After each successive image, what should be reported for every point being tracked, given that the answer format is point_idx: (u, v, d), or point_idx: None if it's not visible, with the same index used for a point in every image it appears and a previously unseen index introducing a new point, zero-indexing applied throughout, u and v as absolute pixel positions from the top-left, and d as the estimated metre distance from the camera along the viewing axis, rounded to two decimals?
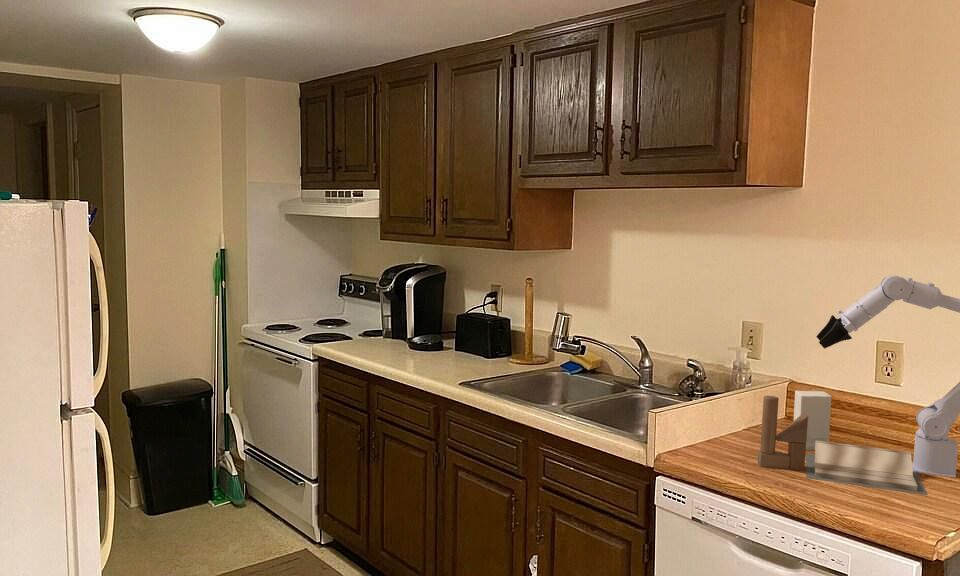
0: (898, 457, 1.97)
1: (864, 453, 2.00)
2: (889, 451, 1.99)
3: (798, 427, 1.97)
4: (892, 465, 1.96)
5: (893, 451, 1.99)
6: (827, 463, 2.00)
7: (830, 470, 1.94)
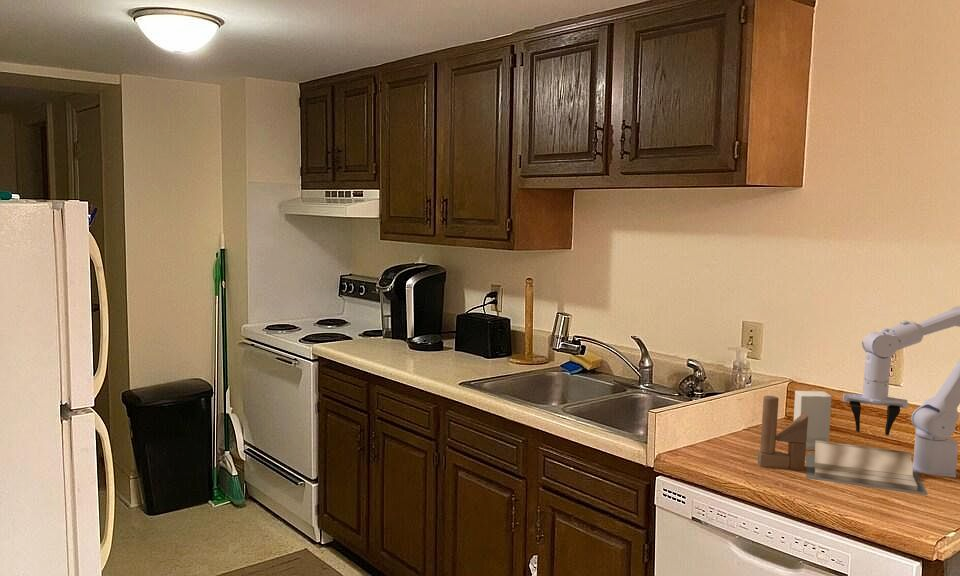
0: (898, 457, 1.97)
1: (864, 453, 2.00)
2: (889, 451, 1.99)
3: (798, 427, 1.97)
4: (892, 465, 1.96)
5: (893, 451, 1.99)
6: (827, 463, 2.00)
7: (830, 470, 1.94)
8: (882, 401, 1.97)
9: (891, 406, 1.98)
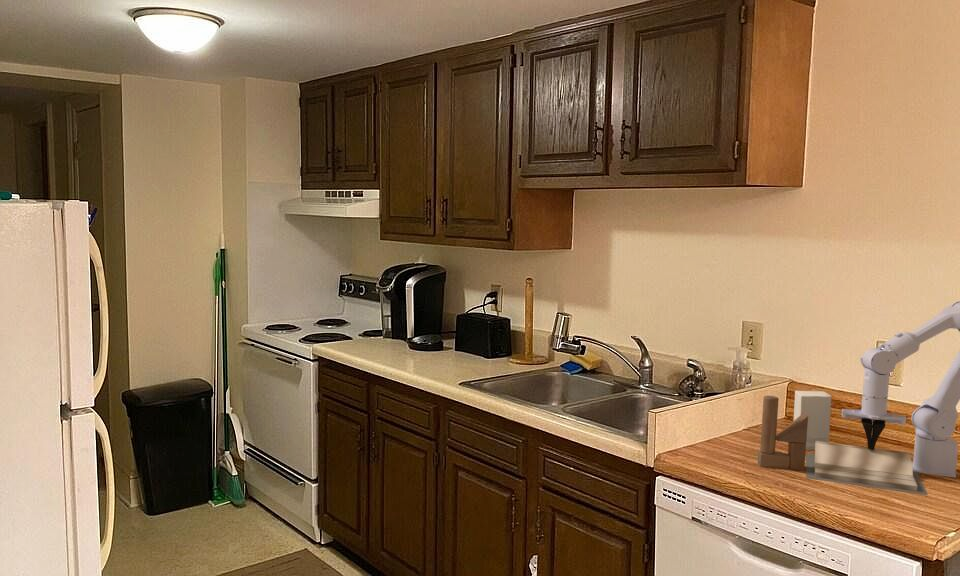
0: (898, 457, 1.98)
1: (864, 453, 2.00)
2: (889, 452, 1.99)
3: (798, 427, 1.97)
4: (892, 465, 1.96)
5: (893, 451, 1.99)
6: (827, 463, 2.00)
7: (830, 470, 1.94)
8: (881, 417, 1.97)
9: (890, 422, 1.98)
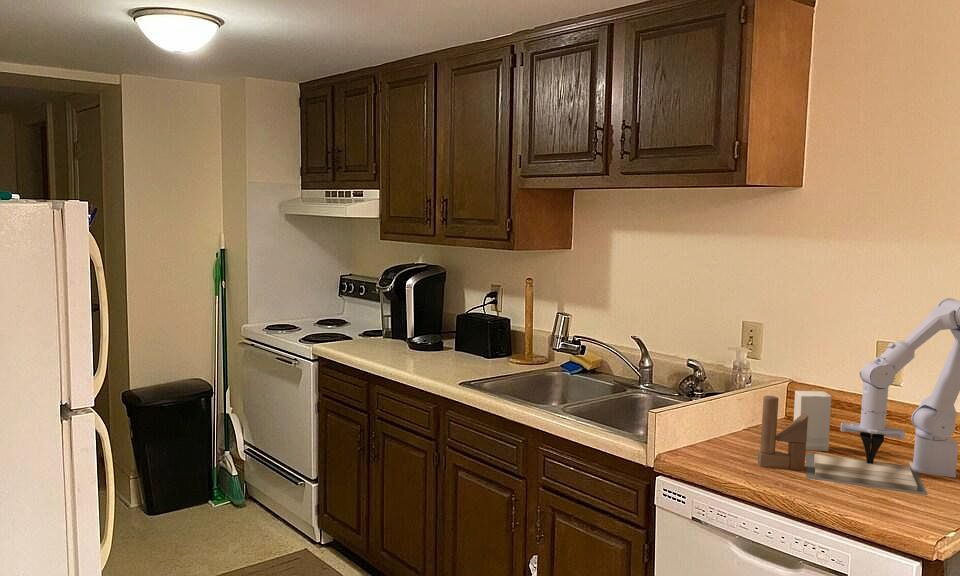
0: (897, 467, 1.98)
1: (863, 462, 2.01)
2: (888, 464, 2.01)
3: (798, 427, 1.97)
4: (891, 469, 1.96)
5: (891, 464, 2.01)
6: (827, 464, 2.00)
7: (830, 470, 1.94)
8: (879, 431, 1.98)
9: (888, 436, 1.99)
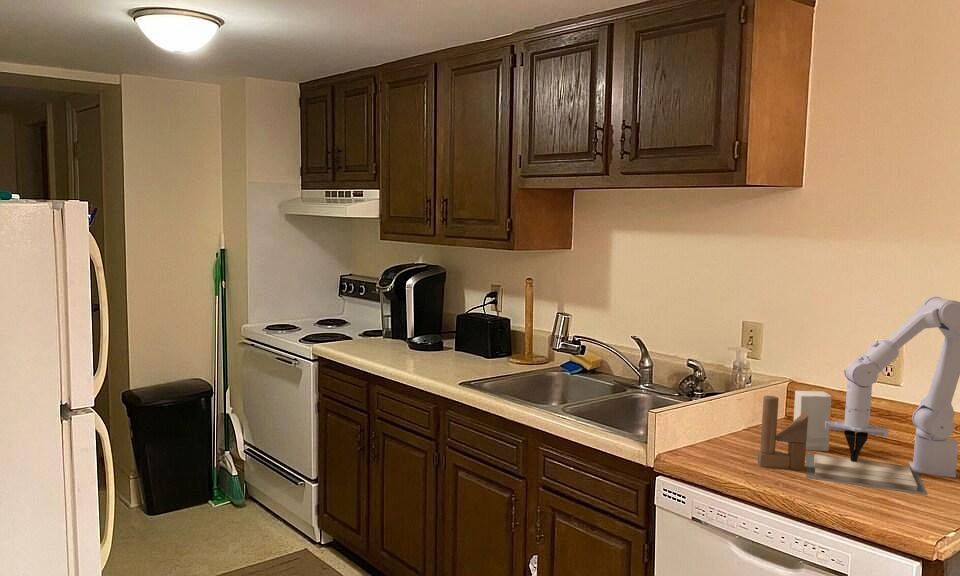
0: (897, 467, 1.98)
1: (863, 462, 2.01)
2: (888, 464, 2.01)
3: (798, 427, 1.97)
4: (891, 470, 1.96)
5: (891, 464, 2.01)
6: (827, 464, 2.00)
7: (830, 470, 1.94)
8: (863, 430, 1.99)
9: (872, 434, 2.00)
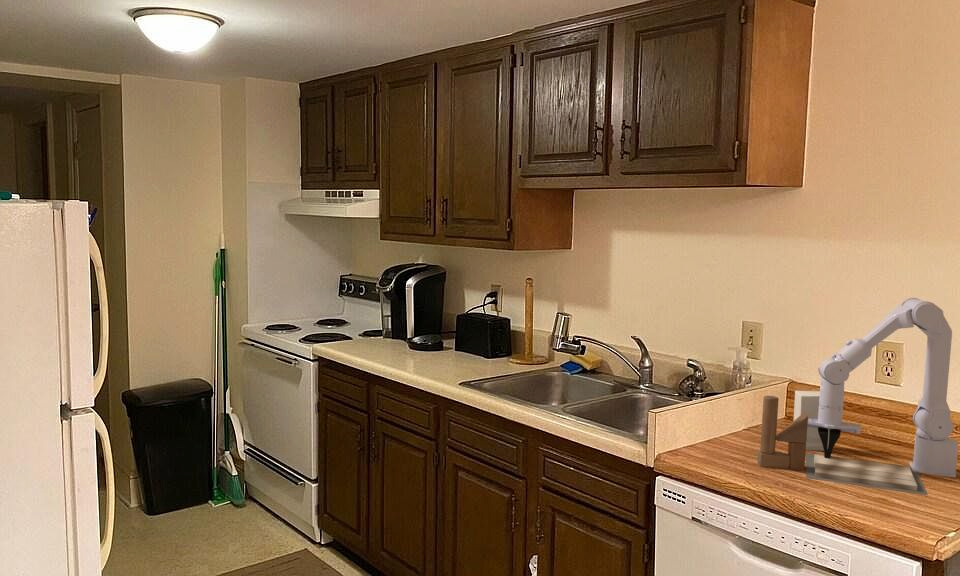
0: (897, 467, 1.98)
1: (863, 462, 2.01)
2: (888, 464, 2.01)
3: (798, 427, 1.97)
4: (891, 470, 1.96)
5: (891, 464, 2.01)
6: (827, 464, 2.00)
7: (830, 470, 1.94)
8: (836, 426, 2.01)
9: (845, 431, 2.02)
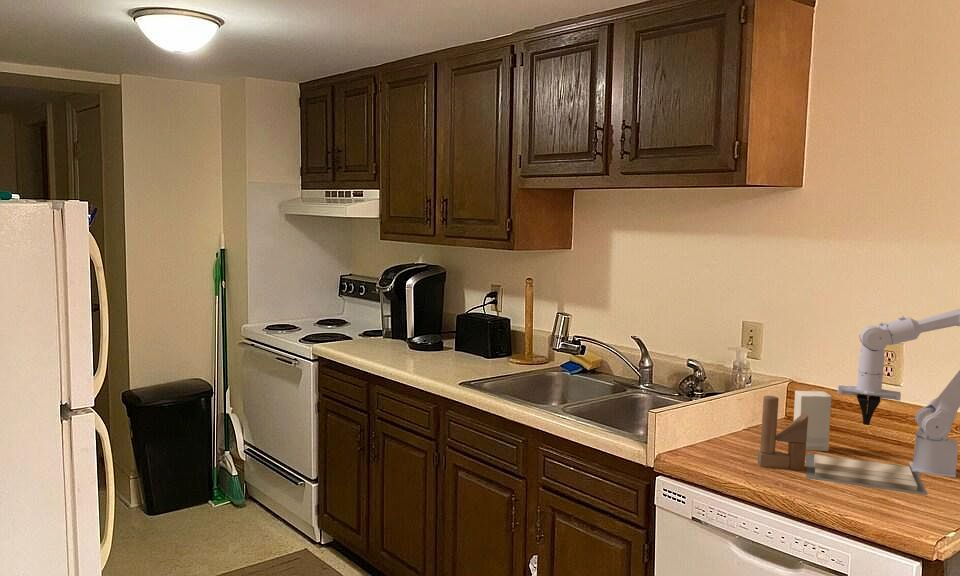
0: (897, 467, 1.98)
1: (863, 462, 2.01)
2: (888, 464, 2.01)
3: (798, 427, 1.97)
4: (891, 470, 1.96)
5: (891, 464, 2.01)
6: (827, 464, 2.00)
7: (830, 470, 1.94)
8: (876, 393, 2.01)
9: (885, 398, 2.02)
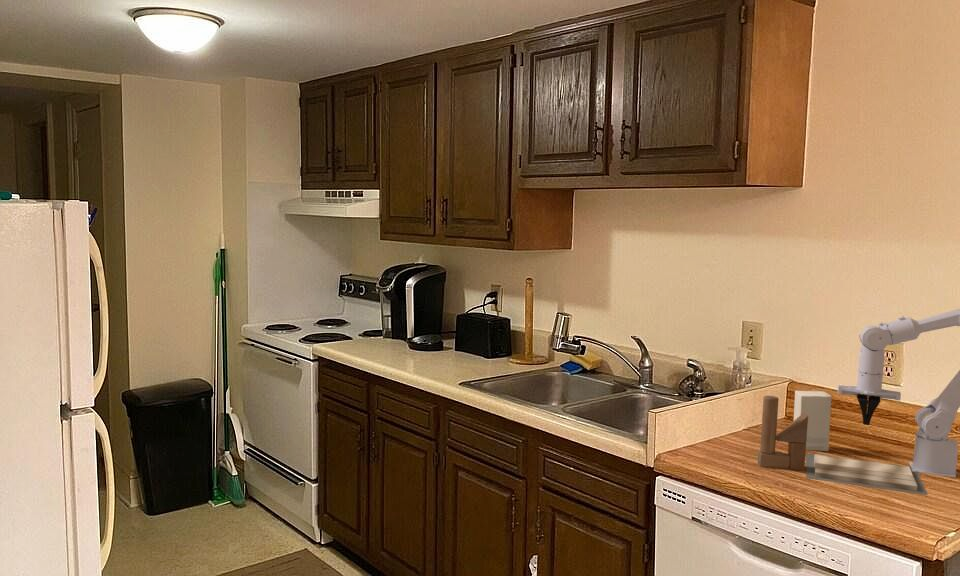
0: (897, 467, 1.98)
1: (863, 462, 2.01)
2: (888, 464, 2.01)
3: (798, 427, 1.97)
4: (891, 470, 1.96)
5: (891, 464, 2.01)
6: (827, 464, 2.00)
7: (830, 470, 1.94)
8: (876, 393, 2.01)
9: (885, 398, 2.02)
